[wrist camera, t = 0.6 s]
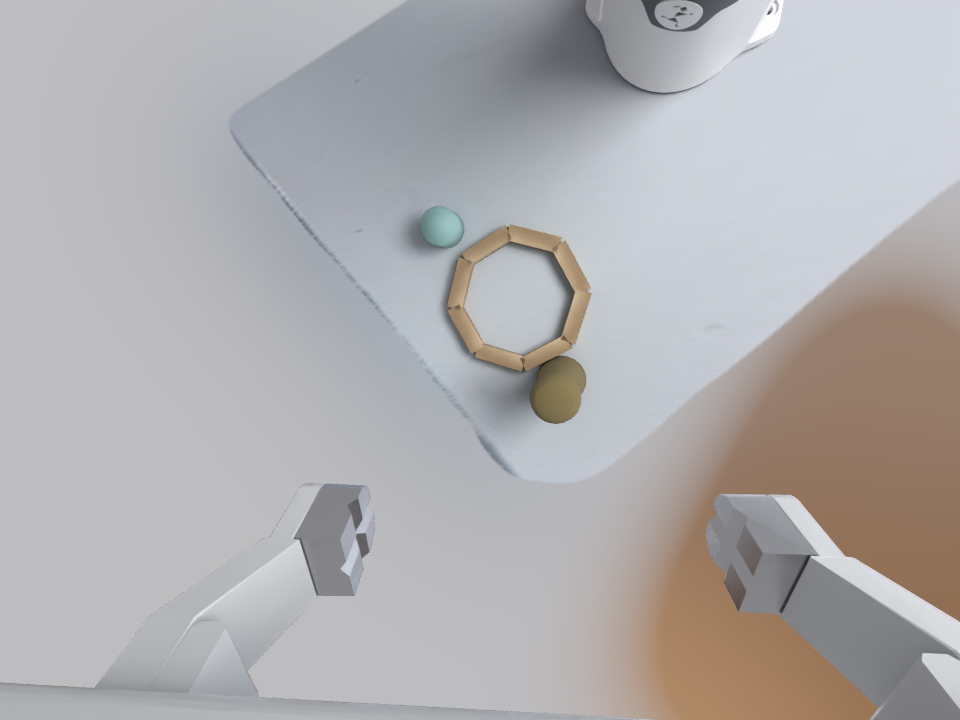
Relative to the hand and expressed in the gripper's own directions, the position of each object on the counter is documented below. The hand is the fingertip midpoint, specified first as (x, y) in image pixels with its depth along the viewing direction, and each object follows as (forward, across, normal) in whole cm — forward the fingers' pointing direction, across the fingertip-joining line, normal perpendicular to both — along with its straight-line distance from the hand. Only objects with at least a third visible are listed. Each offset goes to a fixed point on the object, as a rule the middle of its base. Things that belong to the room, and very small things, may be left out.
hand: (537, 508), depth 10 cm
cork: (+39, -6, +18) cm, 43 cm away
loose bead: (+47, +8, +2) cm, 47 cm away
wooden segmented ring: (+42, -1, +9) cm, 43 cm away
